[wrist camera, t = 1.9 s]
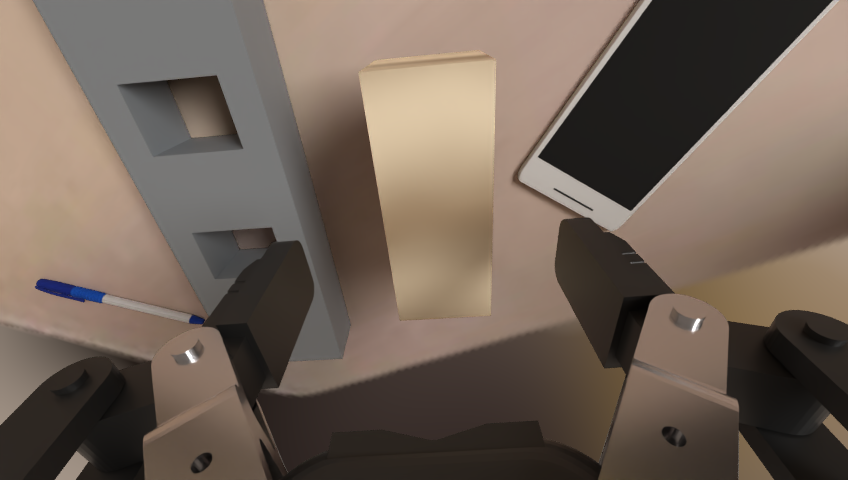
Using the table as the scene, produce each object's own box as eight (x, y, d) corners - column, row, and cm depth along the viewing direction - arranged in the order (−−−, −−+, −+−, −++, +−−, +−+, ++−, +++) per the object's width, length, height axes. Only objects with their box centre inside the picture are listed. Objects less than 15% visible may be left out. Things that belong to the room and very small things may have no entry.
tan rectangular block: (383, 54, 16) (358, 72, 10) (470, 45, 16) (495, 59, 10) (407, 238, 21) (399, 320, 15) (473, 233, 21) (490, 315, 15)
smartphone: (884, -66, 14) (912, -72, 13) (608, 226, 21) (615, 234, 21) (769, -190, 12) (793, -205, 12) (512, 173, 20) (515, 179, 19)
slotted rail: (37, -126, 13) (-58, -161, 11) (222, -149, 13) (171, -193, 10) (254, 330, 26) (235, 364, 23) (350, 324, 25) (342, 358, 23)
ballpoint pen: (45, 284, 24) (31, 294, 23) (42, 275, 24) (27, 284, 23) (206, 320, 26) (198, 331, 25) (206, 312, 25) (198, 322, 24)
